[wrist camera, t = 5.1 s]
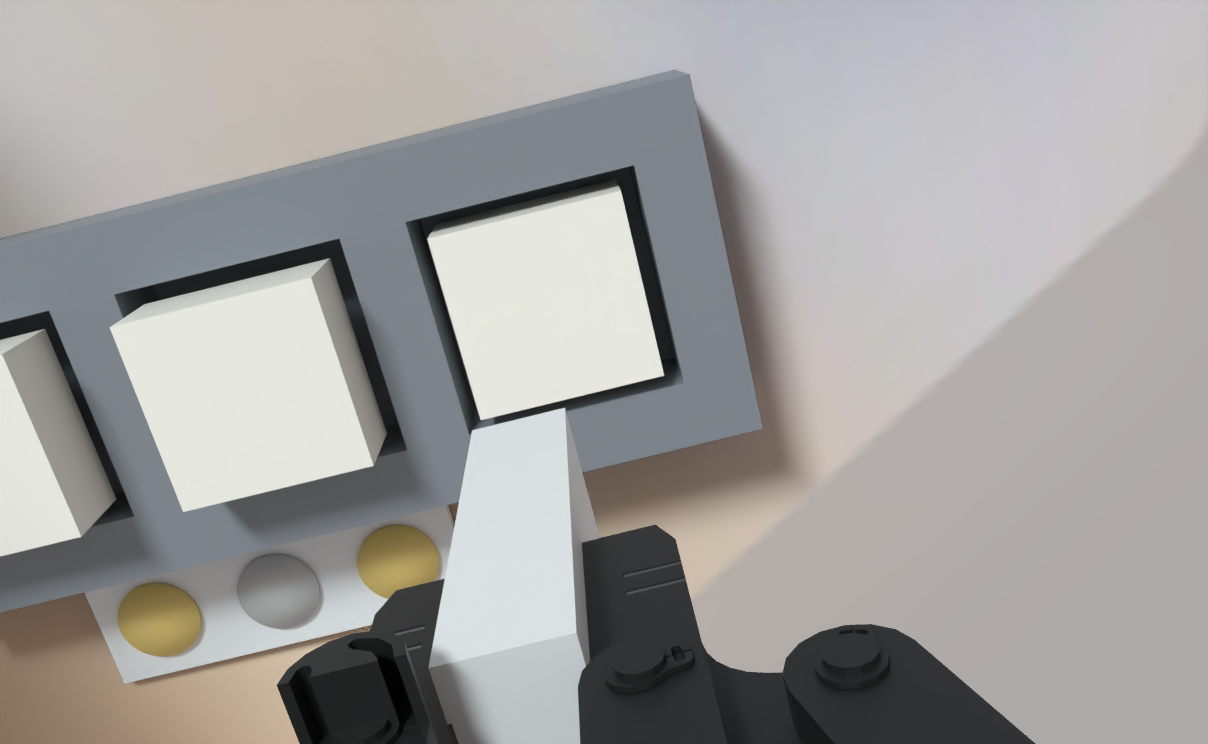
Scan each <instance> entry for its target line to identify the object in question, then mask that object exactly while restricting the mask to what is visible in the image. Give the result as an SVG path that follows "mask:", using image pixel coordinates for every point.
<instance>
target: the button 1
mask: <svg viewBox="0 0 1208 744" xmlns="http://www.w3.org/2000/svg"><path fill="white" fill-rule="evenodd" d="M115 500H116V497H115V494H114V492H113V490H112V487H111V485H110V482H109V480H108V478H107V475H106V473H105V471H104V468H103V466H102V463H101V461H100V459H99V456H98V454H97V451H96V449H95V447H94V444H93V442H92V439H91V437H90V435H89V432H88V430H87V428H86V425H85V423H84V420H83V418H82V416H81V413H80V411H79V408H78V406H77V404H76V401H75V399H74V397H73V394H72V392H71V389H70V387H69V385H68V382H67V380H66V377H65V375H64V373H63V370H62V368H61V365H60V363H59V361H58V358H57V356H56V354H55V351H54V349H53V346H52V344H51V342H50V339H49V337H48V334H47V332H46V330H45V329H42V330H38V331H34V332H30V333H26V334H22V335H18V336H14V337H10V338H6V339H2V340H0V556H4V555H9V554H13V553H17V552H21V551H25V550H29V549H33V548H37V547H42V546H46V545H50V544H54V543H58V542H62V541H66V540H70V539H75V538H79V537H82V536H83V535H84V534H85V532H86V531H87V530H88V529H89V528H90V527H91V526H92V525H93V524H94V523H95V522H96V521H97V520H98V519H99V517H100V516H101V515H102V514H103V513H104V512H105V511H106V510H107V509H108V508H109V507H110V506H111V505H112V503H113V502H114V501H115Z"/></svg>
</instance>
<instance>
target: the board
mask: <svg viewBox="0 0 1208 744" xmlns="http://www.w3.org/2000/svg"><path fill="white" fill-rule="evenodd" d="M613 179H616V181H617V183H618V185H619V188H620V190H621V193H622V197H623V202H624V206H625V210H626V214H627V219H628V223H629V227H630V232H631V236H632V240H633V244H634V249H635V253H636V257H637V261H638V266H639V270H640V274H641V279H642V283H643V287H644V291H645V296H646V300H647V304H648V308H649V313H650V317H651V321H652V326H653V330H654V334H655V338H656V343H657V347H658V351H659V355H660V360H661V364H662V368H663V373H664V376H661V377H657V378H653V379H649V380H644V381H640V382H636V383H632V384H628V385H624V386H620V387H616V388H612V389H607V390H603V391H599V392H595V393H591V394H587V395H583V396H579V397H575V398H570V399H566V400H562V401H558V402H554V403H550V404H546V405H542V406H537V407H533V408H529V409H525V410H521V411H517V412H513V413H509V414H505V415H500V416H496V417H492V418H488V419H484V420H480V416H479V413H478V409H477V406H476V403H475V399H474V396H473V392H472V389H471V386H470V382H469V379H468V375H467V372H466V369H465V365H464V362H463V359H462V355H461V352H460V348H459V345H458V342H457V338H456V335H455V331H454V328H453V325H452V321H451V318H450V314H449V311H448V308H447V304H446V301H445V297H444V294H443V291H442V287H441V284H440V280H439V277H438V274H437V270H436V267H435V263H434V260H433V257H432V253H431V250H430V247H429V243H428V240H427V238H428V237H429V235H430V233H431V232H432V230H433V228H434V227H435V225H436V223H440V222H444V221H448V220H452V219H456V218H460V217H464V216H468V215H472V214H476V213H480V212H484V211H488V210H492V209H496V208H500V207H504V206H508V205H512V204H516V203H520V202H524V201H529V200H533V199H537V198H541V197H545V196H549V195H553V194H557V193H561V192H565V191H569V190H573V189H577V188H581V187H585V186H589V185H593V184H597V183H601V182H605V181H609V180H613ZM329 258H330V260H331V263H332V266H333V269H334V272H335V275H336V278H337V281H338V284H339V287H340V290H341V294H342V297H343V300H344V303H345V306H346V309H347V312H348V315H349V318H350V321H351V324H352V327H353V330H354V333H355V337H356V340H357V343H358V346H359V349H360V352H361V355H362V358H363V361H364V364H365V367H366V370H367V373H368V377H369V380H370V383H371V386H372V389H373V392H374V395H375V398H376V401H377V404H378V407H379V410H380V413H381V416H382V420H383V423H384V426H385V429H386V432H387V435H386V437H385V439H384V442H383V444H382V447H381V449H380V452H379V454H378V457H377V459H376V462H375V464H374V466H371V467H367V468H363V469H359V470H355V471H351V472H347V473H342V474H338V475H334V476H330V477H326V478H322V479H318V480H314V481H310V482H305V483H301V484H297V485H293V486H289V487H285V488H281V489H277V490H272V491H268V492H264V493H260V494H256V495H252V496H248V497H244V498H239V499H235V500H231V501H227V502H223V503H219V504H215V505H211V506H206V507H202V508H198V509H194V510H190V511H186V512H183V510H182V508H181V505H180V503H179V500H178V498H177V495H176V493H175V490H174V488H173V485H172V483H171V480H170V478H169V475H168V473H167V470H166V468H165V465H164V463H163V460H162V458H161V455H160V453H159V450H158V448H157V445H156V443H155V440H154V438H153V435H152V433H151V430H150V428H149V425H148V423H147V420H146V418H145V415H144V413H143V410H142V408H141V405H140V403H139V400H138V398H137V395H136V393H135V390H134V388H133V385H132V383H131V380H130V378H129V375H128V373H127V370H126V368H125V365H124V363H123V360H122V357H121V355H120V352H119V350H118V347H117V345H116V342H115V340H114V337H113V335H112V332H111V330H110V327H111V326H112V325H114V324H115V323H117V322H118V321H120V320H121V319H123V318H124V317H126V316H127V315H129V314H130V313H132V312H133V311H135V310H136V309H138V308H139V307H141V306H142V305H144V304H147V303H151V302H155V301H159V300H163V299H167V298H171V297H175V296H179V295H183V294H188V293H192V292H196V291H200V290H204V289H208V288H212V287H216V286H220V285H224V284H228V283H232V282H236V281H240V280H244V279H248V278H252V277H256V276H260V275H264V274H268V273H272V272H276V271H280V270H284V269H288V268H292V267H296V266H300V265H304V264H308V263H312V262H316V261H321V260H325V259H329ZM42 329H45V330H46V332H47V334H48V337H49V339H50V342H51V344H52V346H53V349H54V351H55V354H56V356H57V358H58V361H59V363H60V365H61V368H62V370H63V373H64V375H65V377H66V380H67V382H68V385H69V387H70V389H71V392H72V394H73V397H74V399H75V401H76V404H77V406H78V408H79V411H80V413H81V416H82V418H83V420H84V423H85V425H86V428H87V430H88V432H89V435H90V437H91V439H92V442H93V444H94V447H95V449H96V451H97V454H98V456H99V459H100V461H101V463H102V466H103V468H104V471H105V473H106V475H107V478H108V480H109V482H110V485H111V487H112V490H113V492H114V494H115V497H116V500H115V501H114V502H113V503H112V505H111V506H110V507H109V508H108V509H107V510H106V511H105V512H104V513H103V514H102V515H101V516H100V517H99V519H98V520H97V521H96V522H95V523H94V524H93V525H92V526H91V527H90V528H89V529H88V530H87V531H86V532H85V534H84V535H83V536H82V537H79V538H75V539H70V540H66V541H62V542H58V543H54V544H50V545H46V546H42V547H37V548H33V549H29V550H25V551H21V552H17V553H13V554H9V555H4V556H0V613H2V612H6V611H10V610H14V609H18V608H22V607H26V606H31V605H35V604H39V603H43V602H47V601H51V600H56V599H60V598H64V597H68V596H72V595H76V594H80V593H85V592H89V591H93V590H97V589H101V588H105V587H109V586H114V585H118V584H122V583H126V582H130V581H134V580H138V579H143V578H147V577H151V576H155V575H159V574H163V573H167V572H172V571H176V570H180V569H184V568H188V567H192V566H196V565H201V564H205V563H209V562H213V561H217V560H221V559H226V558H230V557H234V556H238V555H242V554H246V553H250V552H255V551H259V550H263V549H267V548H271V547H275V546H279V545H284V544H288V543H292V542H296V541H300V540H304V539H308V538H313V537H317V536H321V535H325V534H329V533H333V532H337V531H342V530H346V529H350V528H354V527H358V526H362V525H367V524H371V523H375V522H379V521H383V520H387V519H391V518H396V517H400V516H404V515H408V514H412V513H416V512H420V511H425V510H429V509H433V508H437V507H441V506H445V505H449V504H454V503H458V502H459V499H460V494H461V488H462V483H463V477H464V472H465V466H466V461H467V456H468V450H469V445H470V439H471V434H472V430H476V429H480V428H484V427H488V426H492V425H496V424H500V423H504V422H509V421H513V420H517V419H521V418H525V417H529V416H533V415H537V414H541V413H545V412H549V411H553V410H557V409H562V408H565V410H566V413H567V417H568V421H569V425H570V428H571V432H572V436H573V439H574V443H575V447H576V451H577V454H578V458H579V462H580V466H581V469H582V472H586V471H590V470H595V469H599V468H603V467H607V466H611V465H615V464H619V463H624V462H628V461H632V460H636V459H640V458H644V457H648V456H653V455H657V454H661V453H665V452H669V451H673V450H678V449H682V448H686V447H690V446H694V445H698V444H702V443H707V442H711V441H715V440H719V439H723V438H727V437H731V436H736V435H740V434H744V433H748V432H752V431H756V430H760V429H763V427H762V422H761V417H760V412H759V407H758V402H757V398H756V393H755V388H754V383H753V378H752V373H751V369H750V364H749V359H748V354H747V349H746V345H745V340H744V335H743V330H742V325H741V320H740V316H739V311H738V306H737V301H736V296H735V291H734V287H733V282H732V277H731V272H730V267H729V262H728V258H727V253H726V248H725V243H724V238H723V233H722V229H721V224H720V219H719V214H718V209H717V204H716V200H715V195H714V190H713V185H712V180H711V175H710V171H709V166H708V161H707V156H706V151H705V147H704V142H703V137H702V132H701V127H700V122H699V118H698V113H697V108H696V103H695V98H694V93H693V89H692V84H691V79H690V74H686V73H683V72H680V71H676V70H673V71H669V72H665V73H661V74H657V75H653V76H649V77H645V78H641V79H637V80H633V81H629V82H625V83H621V84H617V85H613V86H609V87H605V88H601V89H597V90H593V91H589V92H585V93H581V94H577V95H573V96H569V97H565V98H561V99H557V100H553V101H549V102H545V103H541V104H537V105H533V106H529V107H525V108H521V109H517V110H513V111H509V112H505V113H501V114H497V115H493V116H489V117H485V118H481V119H477V120H473V121H469V122H465V123H461V124H457V125H453V126H449V127H445V128H441V129H437V130H433V131H429V132H425V133H421V134H417V135H413V136H409V137H405V138H401V139H397V140H393V141H389V142H385V143H381V144H377V145H373V146H369V147H365V148H361V149H357V150H353V151H349V152H345V153H341V154H337V155H333V156H329V157H325V158H321V159H317V160H314V161H310V162H306V163H302V164H298V165H294V166H290V167H286V168H282V169H278V170H274V171H270V172H266V173H262V174H258V175H254V176H250V177H246V178H242V179H238V180H234V181H230V182H226V183H222V184H218V185H214V186H210V187H206V188H202V189H198V190H194V191H190V192H186V193H182V194H178V195H174V196H170V197H166V198H162V199H158V200H154V201H150V202H146V203H142V204H138V205H134V206H130V207H126V208H122V209H118V210H114V211H110V212H106V213H102V214H98V215H94V216H90V217H86V218H82V219H78V220H74V221H70V222H66V223H62V224H58V225H54V226H50V227H46V228H42V229H38V230H34V231H30V232H26V233H22V234H18V235H14V236H10V237H6V238H2V239H0V340H2V339H6V338H10V337H14V336H18V335H22V334H26V333H30V332H34V331H38V330H42Z"/></svg>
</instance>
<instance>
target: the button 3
mask: <svg viewBox="0 0 1208 744" xmlns="http://www.w3.org/2000/svg"><path fill="white" fill-rule="evenodd" d="M427 240H428V243H429V247H430V250H431V253H432V257H433V260H434V263H435V267H436V270H437V274H438V277H439V280H440V284H441V287H442V291H443V294H444V297H445V301H446V304H447V308H448V311H449V314H450V318H451V321H452V325H453V328H454V331H455V335H456V338H457V342H458V345H459V348H460V352H461V355H462V359H463V362H464V365H465V369H466V372H467V375H468V379H469V382H470V386H471V389H472V392H473V396H474V399H475V403H476V406H477V409H478V413H479V416H480V420H484V419H488V418H492V417H496V416H500V415H505V414H509V413H513V412H517V411H521V410H525V409H529V408H533V407H537V406H542V405H546V404H550V403H554V402H558V401H562V400H566V399H570V398H575V397H579V396H583V395H587V394H591V393H595V392H599V391H603V390H607V389H612V388H616V387H620V386H624V385H628V384H632V383H636V382H640V381H644V380H649V379H653V378H657V377H661V376H664V373H663V368H662V364H661V360H660V355H659V351H658V347H657V343H656V338H655V334H654V330H653V326H652V321H651V317H650V313H649V308H648V304H647V300H646V296H645V291H644V287H643V283H642V279H641V274H640V270H639V266H638V261H637V257H636V253H635V249H634V244H633V240H632V236H631V232H630V227H629V223H628V219H627V214H626V210H625V206H624V202H623V197H622V193H621V190H620V188H619V185H618V183H617V181H616V179H613V180H609V181H605V182H601V183H597V184H593V185H589V186H585V187H581V188H577V189H573V190H569V191H565V192H561V193H557V194H553V195H549V196H545V197H541V198H537V199H533V200H529V201H524V202H520V203H516V204H512V205H508V206H504V207H500V208H496V209H492V210H488V211H484V212H480V213H476V214H472V215H468V216H464V217H460V218H456V219H452V220H448V221H444V222H440V223H436V225H435V227H434V228H433V230H432V232H431V233H430V235H429V237H428V238H427Z"/></svg>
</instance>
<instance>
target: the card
mask: <svg viewBox="0 0 1208 744" xmlns="http://www.w3.org/2000/svg"><path fill="white" fill-rule="evenodd" d="M454 526H455V525H454V521H453V518H452V515H451V512H450V509H449V505H445V506H441V507H437V508H433V509H429V510H425V511H420V512H416V513H412V514H408V515H404V516H400V517H396V518H391V519H387V520H383V521H379V522H375V523H371V524H367V525H362V526H358V527H354V528H350V529H346V530H342V531H337V532H333V533H329V534H325V535H321V536H317V537H313V538H308V539H304V540H300V541H296V542H292V543H288V544H284V545H279V546H275V547H271V548H267V549H263V550H259V551H255V552H250V553H246V554H242V555H238V556H234V557H230V558H226V559H221V560H217V561H213V562H209V563H205V564H201V565H196V566H192V567H188V568H184V569H180V570H176V571H172V572H167V573H163V574H159V575H155V576H151V577H147V578H143V579H138V580H134V581H130V582H126V583H122V584H118V585H114V586H109V587H105V588H101V589H97V590H93V591H89V592H85V595H86V598H87V600H88V602H89V605H90V607H91V609H92V611H93V614H94V616H95V618H96V620H97V623H98V625H99V627H100V629H101V632H102V634H103V636H104V638H105V641H106V643H107V645H108V647H109V650H110V652H111V654H112V657H113V659H114V661H115V663H116V666H117V668H118V670H119V672H120V675H121V677H122V679H123V681H124V684H126V683H130V682H134V681H138V680H142V679H147V678H151V677H155V676H159V675H163V674H167V673H172V672H176V671H180V670H184V669H188V668H193V667H197V666H201V665H205V664H209V663H214V662H218V661H222V660H226V659H230V658H235V657H239V656H243V655H247V654H251V653H255V652H260V651H264V650H268V649H272V648H276V647H281V646H285V645H289V644H293V643H297V642H302V641H306V640H310V639H314V638H318V637H323V636H327V635H331V634H335V633H339V632H344V631H348V630H352V629H356V628H360V627H364V626H369V625H372V623H373V620H374V616H375V614H376V613H377V612H378V610H379V609H380V608H381V607H382V606H383V605H384V604H385V602H386V601H387V600H388V599H389V598H390V597H391V596H392V595H393V593H394V592H395V591H396V590H400V589H404V588H408V587H412V586H416V585H420V584H424V583H429V582H433V581H437V580H441V579H445V575H446V570H447V564H448V559H449V553H450V548H451V542H452V537H453V532H454Z"/></svg>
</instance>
